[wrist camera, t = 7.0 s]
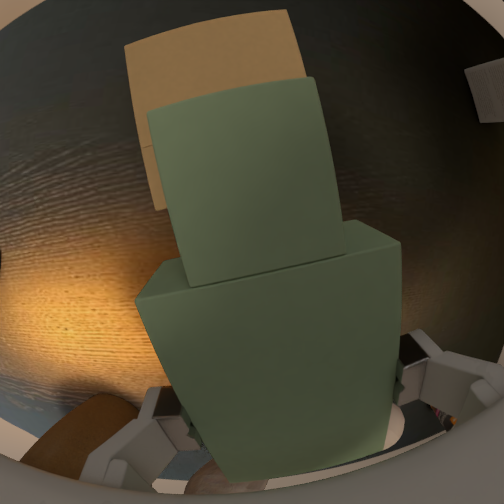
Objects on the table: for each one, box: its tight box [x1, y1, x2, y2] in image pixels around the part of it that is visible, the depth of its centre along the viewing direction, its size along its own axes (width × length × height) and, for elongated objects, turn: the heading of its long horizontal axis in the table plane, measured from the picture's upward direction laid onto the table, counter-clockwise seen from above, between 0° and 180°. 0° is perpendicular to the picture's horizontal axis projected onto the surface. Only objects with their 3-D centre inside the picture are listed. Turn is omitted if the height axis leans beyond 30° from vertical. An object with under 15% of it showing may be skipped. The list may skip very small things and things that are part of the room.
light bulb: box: [383, 403, 405, 450], centre depth 27 cm, size 7×7×11 cm
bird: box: [184, 459, 269, 495], centre depth 22 cm, size 5×14×15 cm, turn 80°
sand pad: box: [125, 9, 306, 211], centre depth 18 cm, size 13×12×3 cm
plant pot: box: [19, 394, 152, 487], centre depth 21 cm, size 15×15×16 cm
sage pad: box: [135, 77, 402, 483], centre depth 8 cm, size 13×6×3 cm, turn 12°
